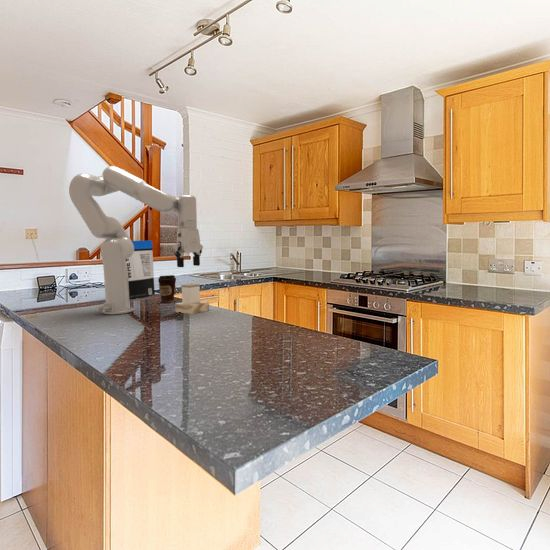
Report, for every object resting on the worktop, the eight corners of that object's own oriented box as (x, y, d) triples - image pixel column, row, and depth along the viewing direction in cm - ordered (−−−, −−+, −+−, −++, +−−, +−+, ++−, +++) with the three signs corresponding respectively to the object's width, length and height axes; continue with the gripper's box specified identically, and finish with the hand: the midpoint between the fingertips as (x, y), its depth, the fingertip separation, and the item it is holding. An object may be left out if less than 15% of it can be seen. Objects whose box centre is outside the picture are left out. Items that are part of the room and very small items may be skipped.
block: (191, 315, 169) (191, 305, 169) (175, 312, 175) (175, 303, 175) (209, 311, 177) (208, 302, 177) (193, 309, 183) (193, 300, 183)
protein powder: (160, 294, 229) (157, 240, 226) (123, 301, 208) (120, 241, 205) (148, 293, 234) (146, 240, 231) (111, 299, 213) (108, 241, 210)
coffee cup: (172, 303, 197) (170, 276, 196) (155, 303, 199) (154, 276, 198) (179, 300, 206) (178, 274, 204) (164, 300, 207) (163, 274, 206)
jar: (191, 304, 172) (190, 285, 171) (182, 303, 175) (181, 285, 174) (200, 302, 177) (199, 284, 176) (190, 301, 179) (190, 283, 179)
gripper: (179, 224, 163) (180, 268, 165) (208, 225, 178) (209, 265, 179) (165, 225, 167) (167, 267, 169) (194, 225, 182) (195, 264, 183)
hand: (188, 266), depth 174 cm, fingers open, 9 cm apart
